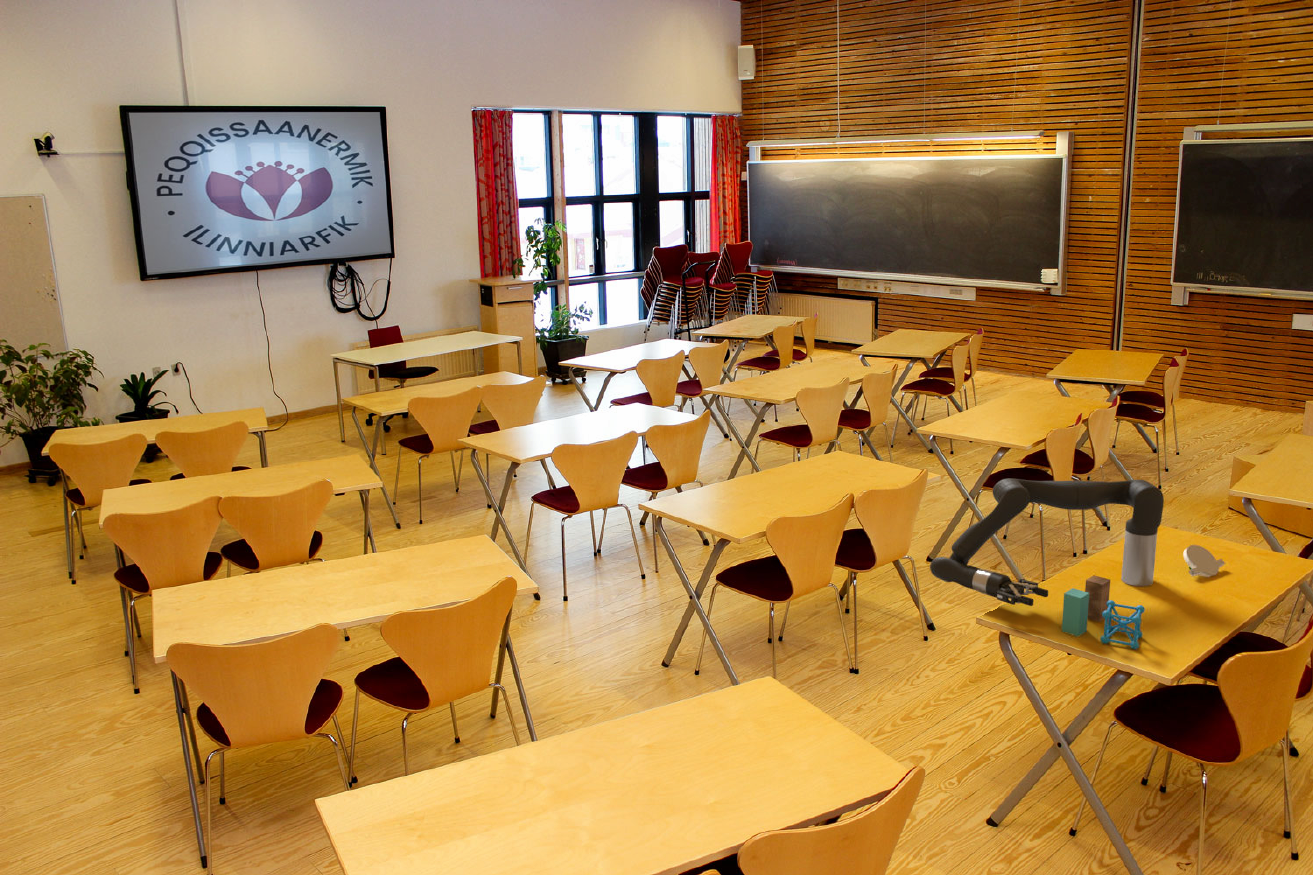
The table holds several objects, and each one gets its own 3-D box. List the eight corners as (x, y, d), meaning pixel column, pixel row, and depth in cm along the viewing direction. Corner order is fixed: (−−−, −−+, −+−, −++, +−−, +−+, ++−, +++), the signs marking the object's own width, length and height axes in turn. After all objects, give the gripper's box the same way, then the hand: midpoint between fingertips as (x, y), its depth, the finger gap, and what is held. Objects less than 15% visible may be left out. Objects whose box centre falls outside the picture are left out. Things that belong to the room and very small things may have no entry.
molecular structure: (1138, 651, 279) (1141, 618, 276) (1099, 643, 284) (1101, 611, 282) (1142, 636, 287) (1145, 604, 285) (1105, 629, 292) (1107, 598, 290)
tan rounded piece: (1201, 580, 320) (1186, 547, 323) (1180, 585, 327) (1166, 552, 330) (1230, 570, 327) (1216, 537, 329) (1209, 575, 334) (1195, 543, 336)
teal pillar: (1061, 631, 293) (1064, 593, 290) (1070, 625, 296) (1072, 588, 293) (1078, 636, 289) (1080, 598, 286) (1086, 630, 292) (1089, 592, 289)
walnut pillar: (1083, 617, 301) (1085, 580, 298) (1091, 611, 304) (1093, 575, 301) (1099, 622, 297) (1102, 584, 294) (1107, 616, 300) (1110, 579, 297)
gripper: (979, 578, 305) (1028, 593, 293) (1004, 565, 314) (1053, 579, 302) (978, 601, 307) (1027, 617, 295) (1003, 587, 316) (1051, 602, 304)
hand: (1040, 598), depth 299 cm, fingers open, 8 cm apart
